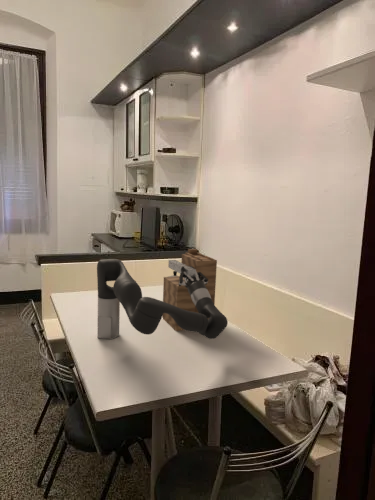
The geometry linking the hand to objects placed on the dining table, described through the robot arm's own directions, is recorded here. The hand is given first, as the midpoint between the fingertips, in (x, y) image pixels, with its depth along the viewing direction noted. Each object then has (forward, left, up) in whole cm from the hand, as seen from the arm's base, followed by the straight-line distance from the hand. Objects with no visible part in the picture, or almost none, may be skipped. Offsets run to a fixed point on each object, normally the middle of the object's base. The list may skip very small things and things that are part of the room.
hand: (186, 267), depth 173 cm
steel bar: (+5, +3, -3) cm, 7 cm away
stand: (+12, +1, -29) cm, 32 cm away
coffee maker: (+41, +14, -29) cm, 53 cm away
